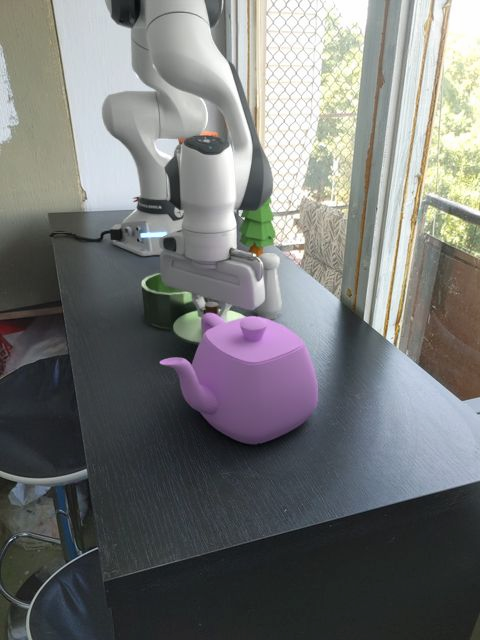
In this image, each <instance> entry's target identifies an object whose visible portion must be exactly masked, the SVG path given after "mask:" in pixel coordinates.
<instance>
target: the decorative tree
mask: <svg viewBox="0 0 480 640" xmlns="http://www.w3.org/2000/svg"><path fill="white" fill-rule="evenodd" d="M272 202H273V201H272V198H271V197H270V198H269V199H268V200H267V201H266V203H265V204H264V205H263V206H262V207H260V208H259V209H258V210H256V211H244V210H242V212H241V214H240V218H244V219H243V221H242V223H241V225H240V227H239V229H238V231H239V232H240V233H241V236H240V238H239V243H241V244H242V245H244V246H245V247H249V249H248V250H247V252H251V253H254V254H256V257H258V258H259V256H260V255H261V254H264V248H265V247H269V246H273V245H275V240H274V239H277V235H276V229H275V227H274V225H273V222H272V221H274V220H275V219H274V214H273V211H272V208H271V206H270V204H273V203H272ZM255 260H256V259H255Z"/></svg>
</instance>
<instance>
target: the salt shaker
mask: <svg viewBox="0 0 480 640" xmlns="http://www.w3.org/2000/svg"><path fill="white" fill-rule="evenodd" d="M259 259H260V260H261V262H262V263H263V278H264V287H265V300H264V302H263V303H262V304H261V305H260V306H258V307H257V308H255V309H254V310H255V313H256V314H257V317H262V318H266V319H269V320H276V318H277V317H278V315H279V313H280V312H281V310H282V306H283V301H282V294H281V287H280V280H279V275H278V268H279V267H280V263H281V259H280V256H279V255H277V254H276V253H274V252H273V253H272V252H263V254H261V255H260V256H259Z"/></svg>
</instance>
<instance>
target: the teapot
mask: <svg viewBox="0 0 480 640" xmlns="http://www.w3.org/2000/svg"><path fill="white" fill-rule="evenodd" d="M201 326H202V331H203V337H202V339H201V341H200V344H199V345H197V348H196V351H195V353H194V358H193V360H192V363H190V361H188V360H187V359H186V358H183V357H180V356H179V357H177V356H175V357H167V358H164V359H161V360H160V361H159V364H160V365H161V366H165V367H168V368H171V369H173V370H174V371H175V372H176V373H177V376H178V379H179V385H180V390H181V393H182V396H183V398H184V400H185V402H186V403H187V404H188V405H189V406H190V407H191V408H192V409H193V410H195V411H197V412H199V414H201V415H202V417H203V418H204V419H205V420H206V421H207V423H208V424H209V425H211V427H213V428H214V429H215V430H217V432H220V433H222V434H223V435H225V436H227V437H228V438H231V440H232V439H233V440H235V441H237V442H239V443H242V444H246V445H260V444H263V443H267V442H269V441H271V440H272V441H273V440H274V439H275V440H276V439H277V438H280V437H281V436H283V435H286V434H287V433H289V432H291V431H293V430H295V429H297V428H298V427H300V426H301V425H302V424H304V423H305V422H306V421H307V420H308V419H309V418H310V417H311V416H312V414H313V413H314V412H315V411H316V408H317V406H318V403H319V387H318V386H319V385H318V379H317V378H318V377H317V375H316V370H315V367H314V364H313V361H312V358H311V356H310V353H309V351H308V349H307V347H306V344H305V341H304V340H303V339H302V338H301V337H300V336H299V335H298V334H296V332H294V331H293V330H291V329H290V328H289V327H287V326H284V325H283V324H281V323H278V322H276V321H274V320H272V319H270V320H269V319H266V318H262V317H258V316H255V315H250V316H245V317H244V318H240V319H236V320H233V321H229V322H225V321H224V320H223V319H222V318H221V317H219V316H218V315H216V314H214V313H206V314H204V315H203V316H202V318H201ZM258 443H259V444H258Z"/></svg>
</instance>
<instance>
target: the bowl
mask: <svg viewBox="0 0 480 640" xmlns="http://www.w3.org/2000/svg"><path fill="white" fill-rule="evenodd" d="M141 294H142V295H141V296H142V305H143V314H144V320H145V322H146V324H148V325H149V326H151V327H152V328H156V329H159V330H164V331H174V330H173V325H174V323H175V321H176V320H177V319H178V318H180V317H181V316H183V315H185V314H187V313H190V312H193V311H197V307H196V306H195V304H194V302H193V300H192V298H191V293H189V292H185V291H182V290H179V289H175V288H172V287H168V286H166V285H165V284H164V283H163V281H162V279H161V274H160V272H155V273H153V274H150V275H148V276H145V278H143V279H142V281H141ZM203 298H204V301H205V303H207V302H209V301H208V298H206V297H203Z"/></svg>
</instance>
